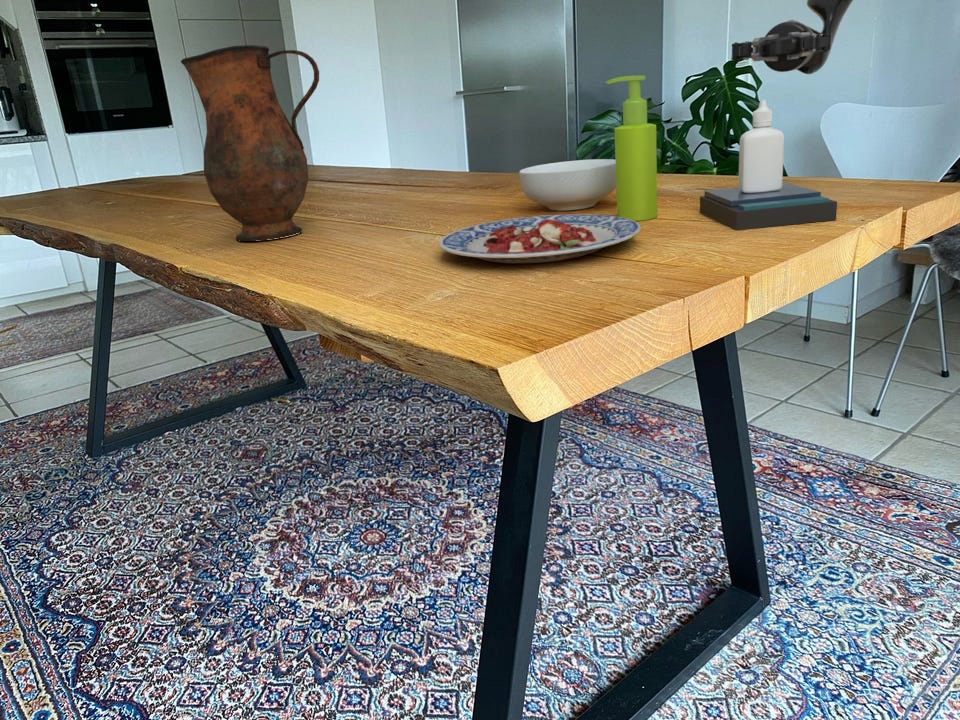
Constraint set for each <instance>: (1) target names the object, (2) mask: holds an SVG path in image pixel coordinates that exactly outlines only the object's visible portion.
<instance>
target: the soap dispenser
mask: <svg viewBox="0 0 960 720" xmlns="http://www.w3.org/2000/svg"><path fill="white" fill-rule="evenodd" d="M646 77H647V76H646V75H624V76H618V77H614V78H612V79H611V78H610V79H608V80H607V81H605V83H606V85H613V84H617V83H621V82H627V83H628V84H627V86H628V87H627V90H628V98H626V99H625V101H622V125H619V126H617V127H615V128H614V152H615V153H614V155H615V158H614V159H615V160H616V188H615V190H616V217H621V218H627V219H630V220H633V221H635V222H640V221H649V220H653V219H656V218H658V167H657V166H658V165H657V164H658V159H657V157H658V155H657V154H658V153H657V147H658V146H657V124H656V123H655V124H654V123H650V122H649V123H648V100H647V99H645V98H644V97H642V96H641V95H642V91H641V90H642V89H641V88H642V87H641V86H642V85H641V81H646V80H647V79H646Z"/></svg>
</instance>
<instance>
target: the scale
mask: <svg viewBox="0 0 960 720" xmlns="http://www.w3.org/2000/svg"><path fill="white" fill-rule="evenodd" d="M837 210H838V201H837V200H833V199H830V197H825V196H822V195H821V196H819V197H809V198H799V199H789V200H779V201H769V202H760V203H750V204H740V205H738V206H734V207H730V206H728V205H725V204H723V203H720V202H718V201H715V200H713V199H711V198H708V197H706V196H704V195H701V196H699V213H700V214H701V215H704V216H706V217H708V218H710V219H712V220H714V221H716V222H718V223H720V224H722V225H725V226H727V227H729V228H731V229H733V230H735V231H741V230H752V229H761V228H762V229H763V228H771V227H772V228H773V227H783V226H790V225H801V224H802V225H803V224H813V223H823V222H832V221H836V220H837Z"/></svg>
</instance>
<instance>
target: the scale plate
mask: <svg viewBox="0 0 960 720" xmlns="http://www.w3.org/2000/svg"><path fill="white" fill-rule="evenodd" d="M703 196H706V197H708V198H711V199H713V200H715V201H718V202H720V203H723V204H725V205H728V206H730V207H734V206H738V205H740V204H750V203H760V202H769V201H779V200H789V199H799V198H809V197H819V196H822V191H820V190H816V189H813V188H808V187H805V186H800V185H798V184H797V185H796V184H794V183H793V184H792V183H789V182H782V188H781V189H780V190H776V191H770V192H761V193H743V192H740V191H739V189H738V187H737V186H736V187H728V188H717V189H709V190H704V195H703Z"/></svg>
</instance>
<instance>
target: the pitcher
mask: <svg viewBox="0 0 960 720" xmlns="http://www.w3.org/2000/svg"><path fill="white" fill-rule="evenodd" d="M269 52H270V48H269V47H268V46H266V45H255V44H250V45H249V44H244V45H233V46H232V45H231V46H227V47H226V46H225V47H223V48H222V47H221V48H217V49H213V50H209V51H207V52H203V53H200V54H197V55H193V56H188V57H183V58H182V59H181V60H180V63H181V65H183V66H184V68H185V70H186V71H187V73H188V75H189V76H190V79H191V80H192V82H193V84H194V86H195V88H196V89H195V90H196V91H197V93H198V97H199V99H200V102H201V104H202V107H203V110H204V113H205V123H206V124H205V125H206V135H205V141H204V146H203V152H202V153H203V154H202V155H203V175H204V178H205V181H206V183H207V187H208V189H209V190H208V191H209V193H210V194H211V196H212V197H213V198H214V200H215V201H216V203H217V204H218V206H219V207H220V208H221V210H222V211H224V212H225V213H226V214H228V215H229V216H230V217H231V218H232V219H233V220H235V221H236V222H237V223H239V224H241V225H242V229H241V232H240V233H238V234H237V235H236V237H235V239H237V240H240V241H256V240H267V239H274V238H280V237H285V236H289V235H293V234H296V233H299V232H301V231H302V230H303V228H302V227H301V226H298V225H295V223H294V222H293V217H294V216H295V214H296V213H297V211H298V209H299V208H300V206H301V204H302V202H303V200H304V198H305V195H306V190H307V186H308V182H309V169H308V168H309V167H308V157H307V155H306V153H305V150H304V149H305V147H304V145H303V141H302V139H301V137H300V135H299V133H298V130H297V128H296V120H297V117H298V116H299V114H300V111H301V110H302V109H303V108H304V106H305V105H306V104H307V102H308V101H309V99H310V98H311V97H312V95H313V94H314V92H315V91H316V89H317V88H318V84H319V83H320V70H319V67H318V64H317V62H316V61H315V60H314V58H313V57H312V56H310V55H309V54H308V53H307V52H303V51H301V50H295V49H289V50H287V49H286V50H284V49H283V50H279V51H275V52H272V53H269ZM285 54H286V55H287V54H291V55H292V54H293V55H297V56H301V57H303V58H304V59H306V60H307V61H308V62H309V64H310V65H311V67H312V70H313V80H312V82H311V85H310V87H309V88H308V90H307V92H306V93H305V94H304V96H303V97H302V99H300V100H299V103H297V105H296V107H295V108H294V110H293V113H292V116H291V122H290V121H289V119H288V117H287V115H286V113H285V111H284V110H283V108H282V106H281V104H280V103H279V100H278V97H277V93H276V89H275V86H274V83H273V77H272V73H271V67H272V65H271V59H273V58H274V57H277V56H280V55H285ZM302 232H303V231H302ZM302 232H301V233H302ZM237 240H236V241H237ZM240 241H239V242H240Z"/></svg>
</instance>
